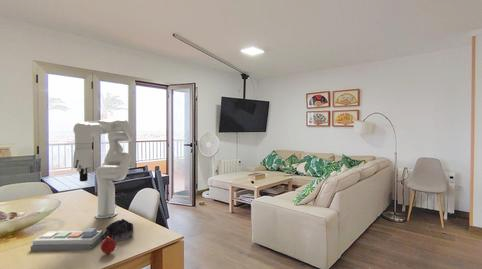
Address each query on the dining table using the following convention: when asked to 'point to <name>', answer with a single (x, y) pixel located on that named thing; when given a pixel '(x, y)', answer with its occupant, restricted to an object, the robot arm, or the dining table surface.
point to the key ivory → (48, 235)
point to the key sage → (62, 235)
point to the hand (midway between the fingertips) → (83, 180)
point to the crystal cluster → (119, 230)
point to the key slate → (89, 232)
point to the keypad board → (66, 247)
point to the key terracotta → (76, 235)
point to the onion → (108, 245)
